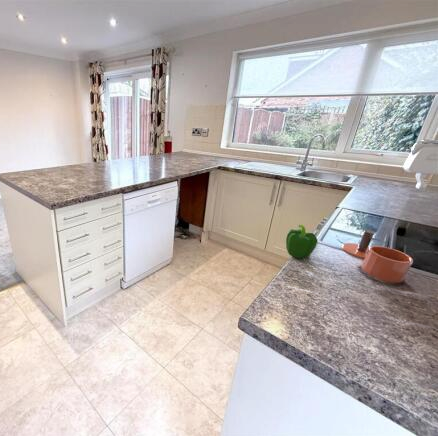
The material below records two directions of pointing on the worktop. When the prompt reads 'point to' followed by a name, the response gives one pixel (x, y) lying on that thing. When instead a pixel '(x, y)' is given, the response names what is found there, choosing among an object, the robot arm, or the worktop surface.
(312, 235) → the bell pepper
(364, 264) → the pot
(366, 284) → the worktop surface
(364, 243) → the lid
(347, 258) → the worktop surface
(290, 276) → the worktop surface
